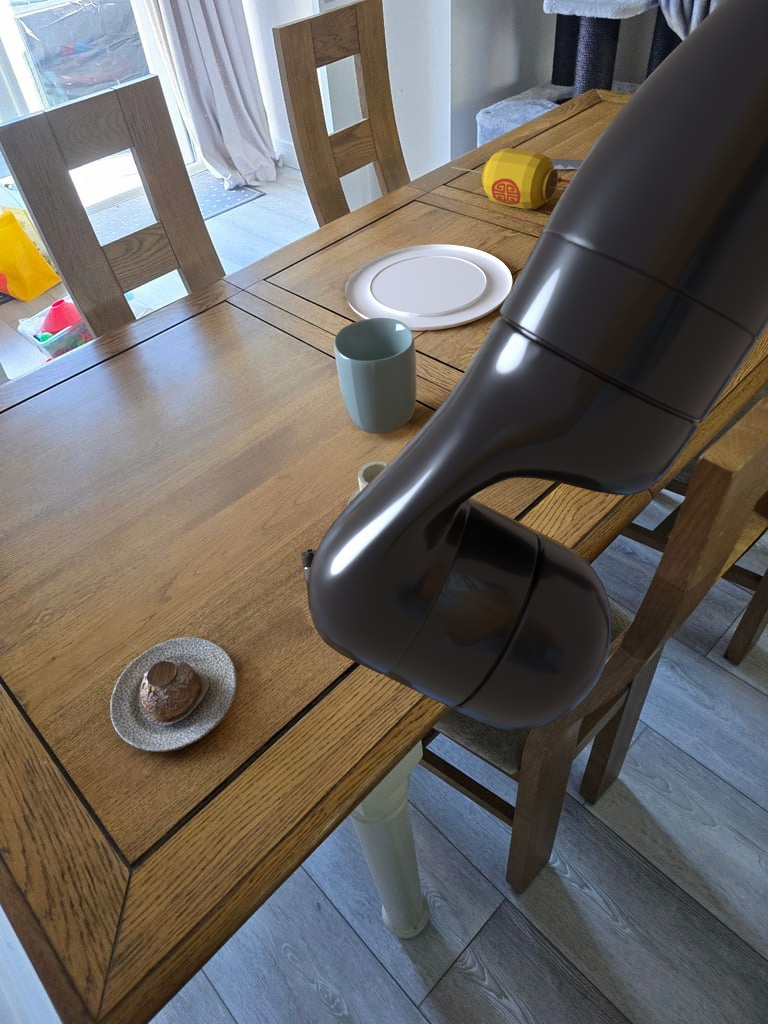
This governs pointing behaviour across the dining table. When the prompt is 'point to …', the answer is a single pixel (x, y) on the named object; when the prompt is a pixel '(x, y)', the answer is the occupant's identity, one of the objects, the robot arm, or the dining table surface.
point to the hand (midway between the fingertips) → (392, 548)
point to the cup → (377, 373)
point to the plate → (429, 286)
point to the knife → (566, 164)
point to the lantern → (519, 178)
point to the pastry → (173, 694)
